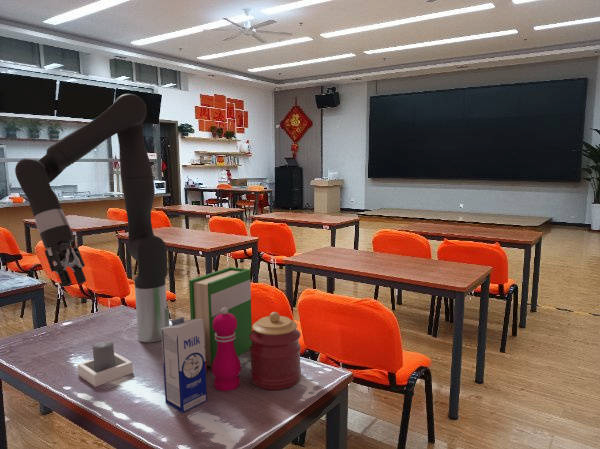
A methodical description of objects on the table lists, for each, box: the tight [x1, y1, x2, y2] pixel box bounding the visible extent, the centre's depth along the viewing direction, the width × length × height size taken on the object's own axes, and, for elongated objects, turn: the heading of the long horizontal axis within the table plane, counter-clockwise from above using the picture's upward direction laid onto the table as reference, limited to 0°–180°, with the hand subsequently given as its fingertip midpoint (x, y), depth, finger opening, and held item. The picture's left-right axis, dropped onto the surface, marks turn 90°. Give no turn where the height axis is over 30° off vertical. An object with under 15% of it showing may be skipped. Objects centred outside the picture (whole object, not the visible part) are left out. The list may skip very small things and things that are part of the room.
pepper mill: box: [211, 308, 242, 392], centre depth 112 cm, size 7×7×20 cm
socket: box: [77, 351, 134, 388], centre depth 120 cm, size 10×10×3 cm
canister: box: [249, 311, 302, 391], centre depth 115 cm, size 13×13×18 cm
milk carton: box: [161, 317, 208, 414], centre depth 104 cm, size 7×7×20 cm
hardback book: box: [188, 266, 253, 372], centre depth 129 cm, size 18×7×24 cm, turn 151°
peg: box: [92, 341, 115, 373], centre depth 119 cm, size 5×5×8 cm
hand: (75, 284), depth 123 cm, fingers open, 8 cm apart
